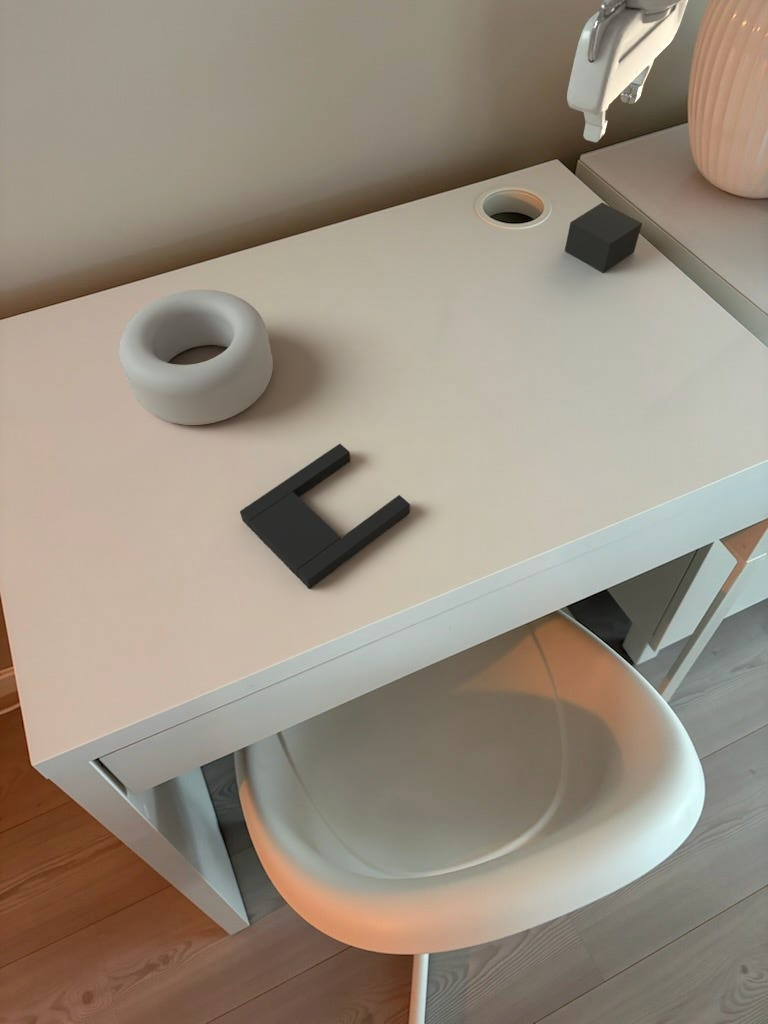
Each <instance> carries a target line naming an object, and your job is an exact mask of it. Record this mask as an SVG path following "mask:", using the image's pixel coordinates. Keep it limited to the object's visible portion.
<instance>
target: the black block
mask: <svg viewBox="0 0 768 1024" xmlns="http://www.w3.org/2000/svg"><path fill="white" fill-rule="evenodd" d="M642 226H643V223H642V222H641V221H639V220H637V219H635V218H633V217H631V216H630V215H628V214H625V213H624V212H623V211H622V212H621V211H620V210H618V209H616V208H614V207H612V206H610V205H608V204H607V203H604V202H599V204H597V205H595V206H594V207H592V208H591V209H589V210H587V211H586V212H584V213H583V214H581V215H579V216H578V217H577V218H575V219H573V220H572V221H571V222H569V228H568V233H567V238H566V242H565V247H564V252H565V253H567V254H569V255H571V256H573V257H575V258H576V259H578V260H579V261H581V262H583V263H585V264H587V265H588V266H590V267H592V268H593V269H595V270H597V271H599V272H601V273H603V274H604V273H605V272H607V271H608V270H610V269H611V268H613V267H614V266H616V265H617V264H618V263H620V262H622V261H623V260H624V259H627V257H629V256H630V255H632V254H633V253H634V252H635V250H636V246H637V242H638V239H639V236H640V232H641V229H642Z"/></svg>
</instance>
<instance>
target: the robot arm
mask: <svg viewBox="0 0 768 1024" xmlns="http://www.w3.org/2000/svg"><path fill="white" fill-rule="evenodd" d="M688 2H689V0H604V1H603V2H602V3H601V5H600V7H599V8H598V11H596V12H595V14H593V15H592V16H591V17H590V18H589V19H588V20H587V21H586V23H585V24H584V27H583V28H582V31H581V34H580V37H579V40H578V44H577V47H576V50H575V55H574V60H573V64H572V69H571V73H570V78H569V82H568V87H567V93H566V101H567V104H568V107H569V108H570V109H573V110H575V111H579V112H582V113H583V117H584V122H585V125H584V129H583V139H584V140H586V141H589V142H592V143H598V142H599V141H600V140H601V139H602V138H603V136H604V135H605V134H606V129H607V125H608V120H607V119H606V111H607V110H608V109H609V106H610V105H611V103H613V102H614V100H615V99H617V98H618V96H619V95H620V98H619V99H620V101H621V102H622V103H625V104H628V105H633V104H635V103H636V102H637V101H638V100H639V99H640V98H641V95H642V92H643V88H644V84H645V82H646V80H647V77H648V75H649V73H650V71H651V69H652V67H653V64H654V61H655V59H656V58H657V57H658V56H659V55H660V54H661V53H662V52H663V51H664V50H665V49H666V48H667V47H668V46H669V45H670V44H671V43H672V41H673V40H674V38H675V36H676V34H677V32H678V30H679V28H680V26H681V22H682V19H683V17H684V14H685V12H686V8H687V5H688Z"/></svg>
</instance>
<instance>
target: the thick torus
mask: <svg viewBox="0 0 768 1024" xmlns="http://www.w3.org/2000/svg"><path fill="white" fill-rule="evenodd" d="M203 346H219V347H224V348H226V349H225V350H224V351H222V352H221V353H219V354H218V355H216V356H214V357H213V358H209V359H208V360H205V361H201V362H199V363H191V364H175V363H170V361H171V359H173V358H174V357H176V356H177V355H179V354H181V353H183V352H185V351H187V350H191V349H193V348H197V347H203ZM118 354H119V361H120V364H121V367H122V370H123V372H124V375H125V377H126V380H127V382H128V384H129V387H130V389H131V391H132V394H133V396H134V398H135V399H136V401H137V402H138V404H140V406H141V407H142V408H143V409H144V410H145V411H146V412H148V413H149V414H151V415H152V416H154V417H155V418H157V419H161V420H162V421H164V422H165V421H166V422H169V423H172V424H177V425H186V426H200V425H207V424H214V423H219V422H221V421H225V420H227V419H230V418H232V417H234V416H236V415H238V414H240V413H242V412H243V411H246V410H247V409H248V408H249V407H251V406H252V405H254V403H256V401H258V400H259V398H260V397H261V396H262V395H263V394H264V392H265V391H266V389H267V388H268V386H269V383H270V381H271V379H272V376H273V370H274V362H273V361H274V360H273V354H272V349H271V344H270V339H269V334H268V329H267V326H266V323H265V320H264V319H263V317H262V316H261V314H260V312H259V311H258V310H257V309H255V307H254V306H253V305H252V304H250V303H249V302H248V301H246V300H245V299H242V298H241V297H238V296H237V295H234V294H232V293H229V292H225V291H220V290H216V289H215V290H214V289H191V290H190V289H189V290H185V291H184V290H183V291H179V292H175V293H172V294H169V295H166V296H163V297H161V298H159V299H156V300H155V301H153V302H151V303H149V304H148V305H146V306H145V307H143V308H142V309H141V310H139V312H137V313H136V314H135V315H134V316H133V317H132V318H131V320H130V321H129V322H128V323H127V325H126V327H125V329H124V331H123V332H122V335H121V338H120V343H119V349H118Z"/></svg>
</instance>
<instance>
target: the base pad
mask: <svg viewBox="0 0 768 1024" xmlns="http://www.w3.org/2000/svg"><path fill="white" fill-rule="evenodd" d="M349 463H351V452H350V450H349V449H347V448H346V447H345V446H344V445H343V444H341V443H339V444H337V445H335V446H334V447H333V448H331V449H330V450H328V451H326V452H325V453H324V454H322V455H320V456H319V457H317V458H316V459H314V460H313V461H312V462H310V463H308V464H307V465H306V466H304V467H303V468H301V469H300V470H299V471H297V472H295V473H294V474H293V475H291V476H290V477H288V478H287V479H285V480H283V481H282V482H280V483H279V484H278V485H277V486H276V485H275V487H274V488H272V489H271V490H269V491H267V492H266V493H265V494H263V495H262V496H260V497H258V498H257V499H255V500H254V501H253V502H252V503H250V504H248V505H246V506H245V507H244V508H242V509H241V510H240V511H239V513H240V518H241V520H242V522H243V523H244V524H245V525H246V526H247V527H248V528H249V529H250V530H251V531H252V532H253V533H254V535H256V536H257V538H258V539H260V540H261V541H262V542H263V544H265V546H266V547H267V548H269V550H270V551H271V552H273V554H274V555H275V556H276V557H277V558H278V559H279V560H280V561H281V562H282V563H283V564H284V565H285V566H286V568H288V569H289V570H290V571H291V572H292V574H294V575H295V576H296V577H297V578H298V579H299V580H300V582H302V584H304V586H306V588H307V589H308V590H311V589H312V588H313V587H314V586H316V585H317V584H319V583H320V582H322V581H323V580H324V579H325V578H326V577H328V576H329V575H330V574H332V573H333V572H335V571H336V570H337V569H338V568H340V567H341V566H342V565H343V564H345V563H346V562H348V561H349V560H350V559H352V558H353V557H354V556H356V555H357V554H358V553H360V552H361V551H362V550H363V549H365V548H367V546H369V545H370V544H371V543H373V542H374V541H375V540H377V539H378V538H379V537H381V536H382V535H383V534H385V533H386V532H387V531H388V530H390V529H391V528H392V527H394V526H395V525H396V524H398V523H399V522H400V521H402V520H403V519H404V518H406V517H407V516H408V515H409V514H411V504H410V502H408V501H407V500H406V499H405V498H404V497H402V496H401V495H400V494H398V495H397V496H395V497H394V498H393V499H392V500H390V501H389V502H387V503H386V504H384V505H383V506H382V507H381V508H379V509H378V510H377V511H375V512H374V513H372V514H371V515H370V516H368V517H367V518H366V519H365V520H363V521H362V522H361V523H359V524H357V526H355V527H354V528H353V529H351V530H349V531H348V532H347V533H345V534H344V535H343V536H340V535H339V534H338V533H337V532H336V531H335V530H334V529H333V528H332V527H331V526H330V525H329V524H328V523H327V522H326V521H325V520H323V519H322V518H321V516H319V515H318V514H317V513H316V512H315V511H314V510H313V509H312V508H310V506H308V504H306V502H305V501H303V500H302V498H301V497H302V496H303V495H305V494H306V493H308V492H309V491H310V490H312V489H313V488H314V487H316V486H317V485H318V484H319V485H320V483H322V482H323V481H325V480H326V479H327V478H329V477H330V476H332V475H334V473H336V472H338V471H339V470H341V469H342V468H343V467H345V466H346V465H347V464H349Z"/></svg>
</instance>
